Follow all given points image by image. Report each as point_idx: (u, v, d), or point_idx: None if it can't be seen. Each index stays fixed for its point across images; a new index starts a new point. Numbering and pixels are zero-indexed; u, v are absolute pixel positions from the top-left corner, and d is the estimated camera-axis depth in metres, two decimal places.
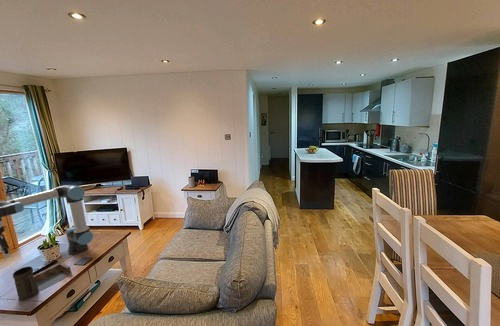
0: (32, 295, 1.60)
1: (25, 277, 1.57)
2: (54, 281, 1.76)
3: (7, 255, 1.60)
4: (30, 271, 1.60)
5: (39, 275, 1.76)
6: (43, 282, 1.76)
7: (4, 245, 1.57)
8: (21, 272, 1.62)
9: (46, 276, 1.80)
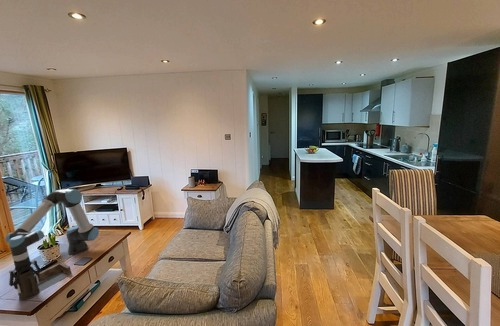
0: (33, 295, 1.61)
1: (26, 277, 1.57)
2: (54, 281, 1.76)
3: (18, 290, 1.56)
4: (31, 271, 1.60)
5: (39, 275, 1.76)
6: (43, 282, 1.76)
7: (10, 281, 1.52)
8: (22, 272, 1.62)
9: (46, 276, 1.80)
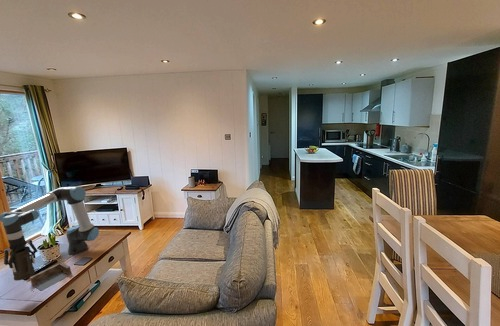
0: (28, 275, 1.58)
1: (22, 256, 1.55)
2: (54, 281, 1.76)
3: (13, 269, 1.53)
4: (27, 250, 1.58)
5: (39, 275, 1.76)
6: (43, 282, 1.76)
7: (4, 260, 1.49)
8: (18, 251, 1.60)
9: (46, 276, 1.80)
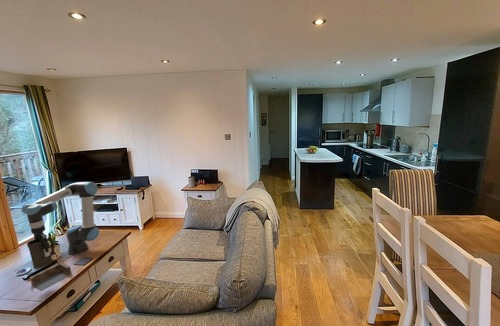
0: None
1: None
2: (54, 281, 1.76)
3: (47, 253, 1.69)
4: None
5: (39, 275, 1.76)
6: (43, 282, 1.76)
7: (45, 244, 1.66)
8: None
9: (46, 276, 1.80)
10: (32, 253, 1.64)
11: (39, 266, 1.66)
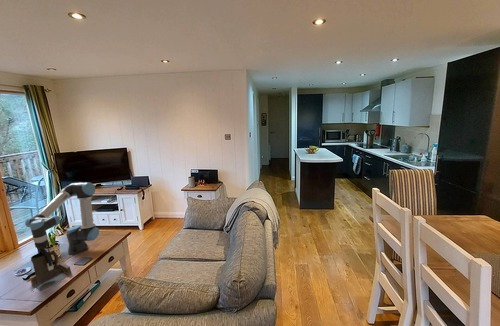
0: None
1: None
2: (54, 281, 1.76)
3: (51, 267, 1.71)
4: None
5: None
6: (43, 282, 1.76)
7: (49, 258, 1.68)
8: None
9: None
10: (36, 267, 1.67)
11: (42, 280, 1.68)
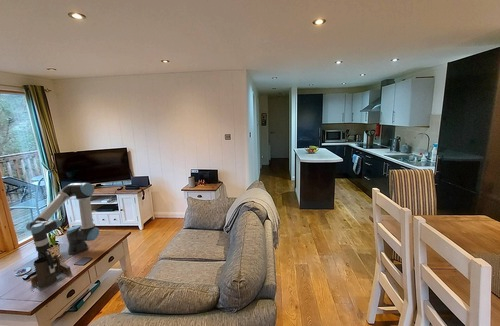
0: None
1: None
2: None
3: (52, 270, 1.71)
4: None
5: None
6: None
7: (50, 261, 1.68)
8: None
9: None
10: (38, 272, 1.67)
11: (44, 285, 1.69)
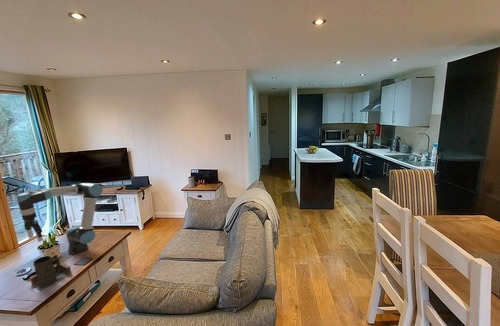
0: None
1: (51, 259, 1.75)
2: None
3: (40, 238, 1.73)
4: None
5: None
6: None
7: (38, 229, 1.70)
8: None
9: None
10: (38, 272, 1.68)
11: (44, 285, 1.69)
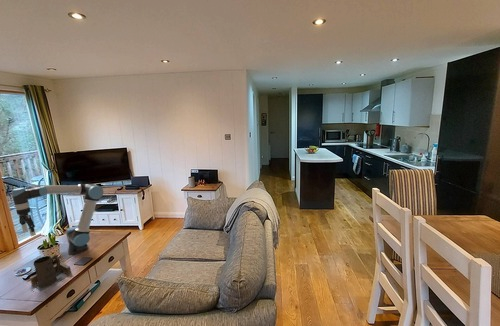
0: None
1: (51, 259, 1.75)
2: None
3: (33, 233, 1.76)
4: None
5: None
6: None
7: (31, 224, 1.73)
8: None
9: None
10: (38, 272, 1.68)
11: (44, 285, 1.69)
